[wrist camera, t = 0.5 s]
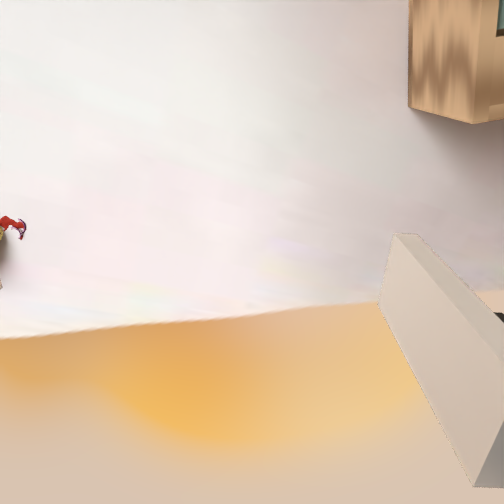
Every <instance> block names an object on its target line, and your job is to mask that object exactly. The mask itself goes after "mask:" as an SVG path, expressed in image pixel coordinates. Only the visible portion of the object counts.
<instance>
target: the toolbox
mask: <svg viewBox="0 0 504 504" xmlns="http://www.w3.org/2000/svg"><path fill="white" fill-rule="evenodd" d="M498 8H499V0H409V42H408V107H411V108H415V109H418V110H422V111H426V112H429V113H433V114H437V115H440V116H444V117H448V118H452V119H455V120H459V121H463V122H466V123H470V124H477V123H483V122H489V121H495V120H501V119H504V29H498V30H497V19H498Z"/></svg>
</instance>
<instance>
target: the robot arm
mask: <svg viewBox="0 0 504 504" xmlns="http://www.w3.org/2000/svg"><path fill="white" fill-rule="evenodd" d="M0 289H2V284H1V280H0ZM378 306H379V308H380V310H381V312H382V314H383V316H384V318H385V320H386V322H387V324H388V326H389V328H390V329H391V331H392V333H393V335H394V337H395V339H396V341H397V343H398V345H399V347H400V349H401V351H402V352H403V354H404V356H405V358H406V360H407V362H408V364H409V366H410V367H411V370H412V372H413V373H414V375H415V377H416V379H417V381H418V383H419V385H420V387H421V389H422V390H423V393H424V394H425V396H426V398H427V400H428V402H429V404H430V406H431V408H432V410H433V412H434V414H435V415H436V417H437V419H438V421H439V423H440V425H441V427H442V428H443V431H444V433H445V434H446V436H447V438H448V440H449V442H450V444H451V446H452V448H453V450H454V452H455V454H456V456H457V457H458V459H459V461H460V463H461V465H462V467H463V469H464V471H465V473H466V475H467V477H468V479H469V481H470V482H471V484H472V486H473V487H488V488H504V314H502V313H495V312H492V311H491V310H490V308H489V307H488V306H487V305H485V303H483V301H482V300H481V299H480V298H479V297H478V296H477V295H476V294H475V293H474V292H473V291H472V290H471V289H470V288H469V287H468V286H467V285H466V284H465V283H464V282H463V281H462V280H461V279H460V278H459V277H458V276H457V275H456V274H455V272H454V271H453V270H452V269H451V268H450V267H449V266H448V265H447V264H446V263H445V262H444V261H443V260H442V259H441V258H440V257H439V256H438V255H437V254H436V253H435V252H434V251H433V250H432V249H431V248H430V247H429V246H428V245H427V244H426V243H425V242H424V241H423V240H422V239H421V238H420V237H419V236H418V235H417V234H404V233H394V234H393V239H392V243H391V247H390V252H389V256H388V261H387V265H386V269H385V274H384V278H383V283H382V287H381V291H380V296H379V300H378Z"/></svg>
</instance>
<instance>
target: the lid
mask: <svg viewBox="0 0 504 504" xmlns="http://www.w3.org/2000/svg"><path fill="white" fill-rule="evenodd" d="M498 29H504V0H499V8H498V19H497V30H498Z"/></svg>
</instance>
